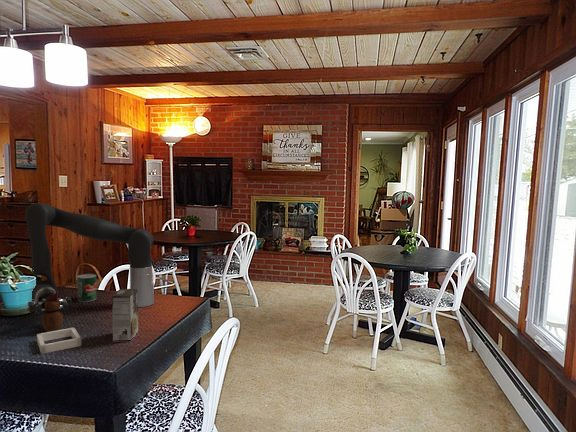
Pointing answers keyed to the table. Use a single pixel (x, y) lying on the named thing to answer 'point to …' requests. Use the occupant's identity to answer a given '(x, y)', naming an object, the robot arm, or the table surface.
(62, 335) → the frame
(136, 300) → the coffee box
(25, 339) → the table surface
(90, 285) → the canned tomato
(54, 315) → the wooden figurine
